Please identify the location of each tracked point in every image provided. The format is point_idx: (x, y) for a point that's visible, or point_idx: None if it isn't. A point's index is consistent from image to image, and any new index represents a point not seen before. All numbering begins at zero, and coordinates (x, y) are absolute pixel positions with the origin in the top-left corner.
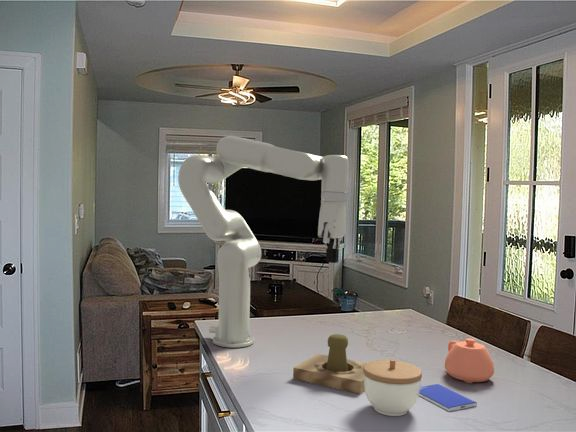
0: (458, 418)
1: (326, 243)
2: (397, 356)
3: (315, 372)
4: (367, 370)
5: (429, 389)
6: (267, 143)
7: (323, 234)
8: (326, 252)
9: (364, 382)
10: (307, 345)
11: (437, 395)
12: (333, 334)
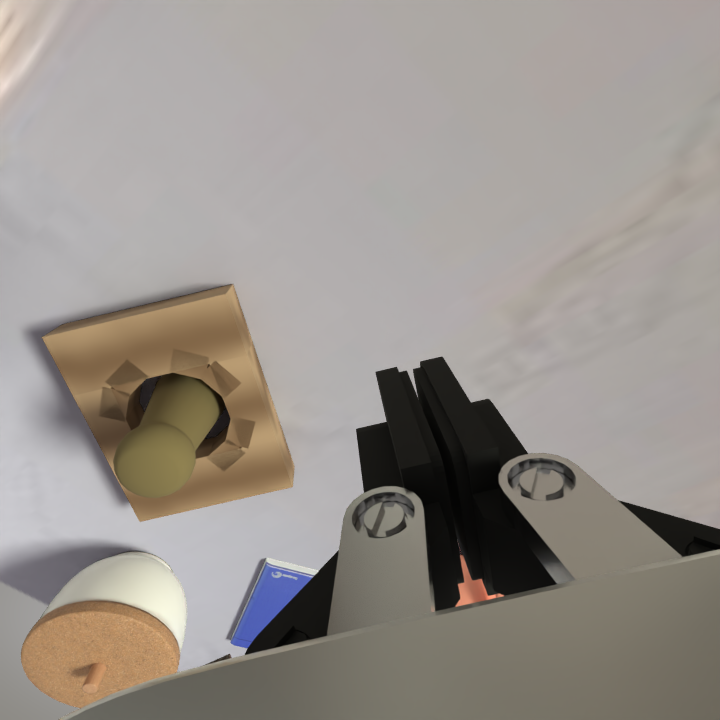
0: (215, 657)
1: (249, 653)
2: (500, 403)
3: (79, 407)
4: (26, 644)
5: (286, 588)
6: None
7: (494, 658)
8: (391, 431)
9: (51, 602)
10: (395, 88)
11: (268, 610)
12: (146, 453)
